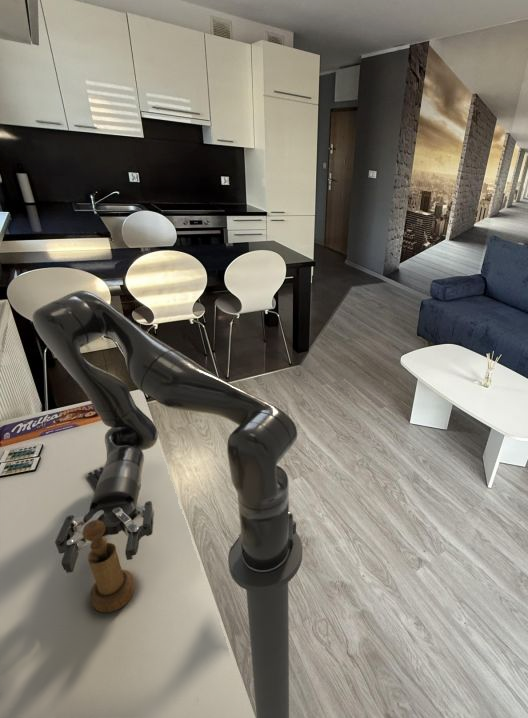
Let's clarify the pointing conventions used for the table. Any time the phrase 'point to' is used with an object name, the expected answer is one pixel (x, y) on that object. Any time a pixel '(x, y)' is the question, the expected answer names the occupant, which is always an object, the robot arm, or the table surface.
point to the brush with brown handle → (96, 475)
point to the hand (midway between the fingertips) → (99, 562)
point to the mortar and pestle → (107, 571)
